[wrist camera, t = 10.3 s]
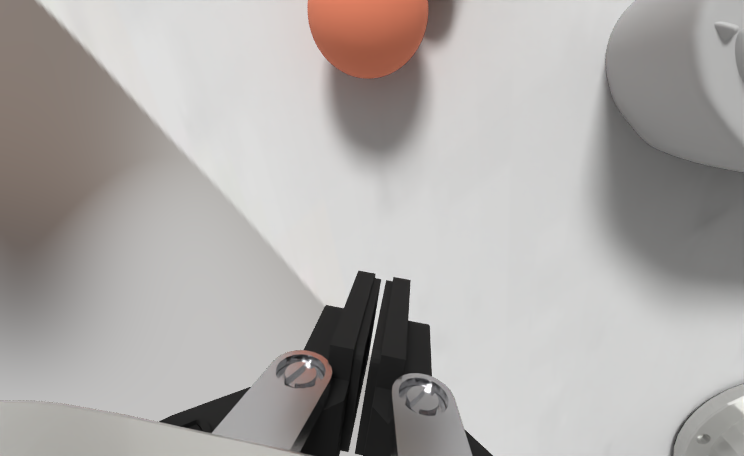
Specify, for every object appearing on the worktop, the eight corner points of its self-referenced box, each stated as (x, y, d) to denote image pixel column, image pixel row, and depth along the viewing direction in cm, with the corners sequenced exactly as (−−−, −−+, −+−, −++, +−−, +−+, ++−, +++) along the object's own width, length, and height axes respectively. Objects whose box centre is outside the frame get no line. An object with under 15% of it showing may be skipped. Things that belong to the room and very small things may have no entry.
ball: (431, -104, 16) (467, 41, 19) (356, -51, 21) (394, 58, 23) (322, -63, 14) (382, 94, 17) (266, -14, 18) (321, 101, 21)
